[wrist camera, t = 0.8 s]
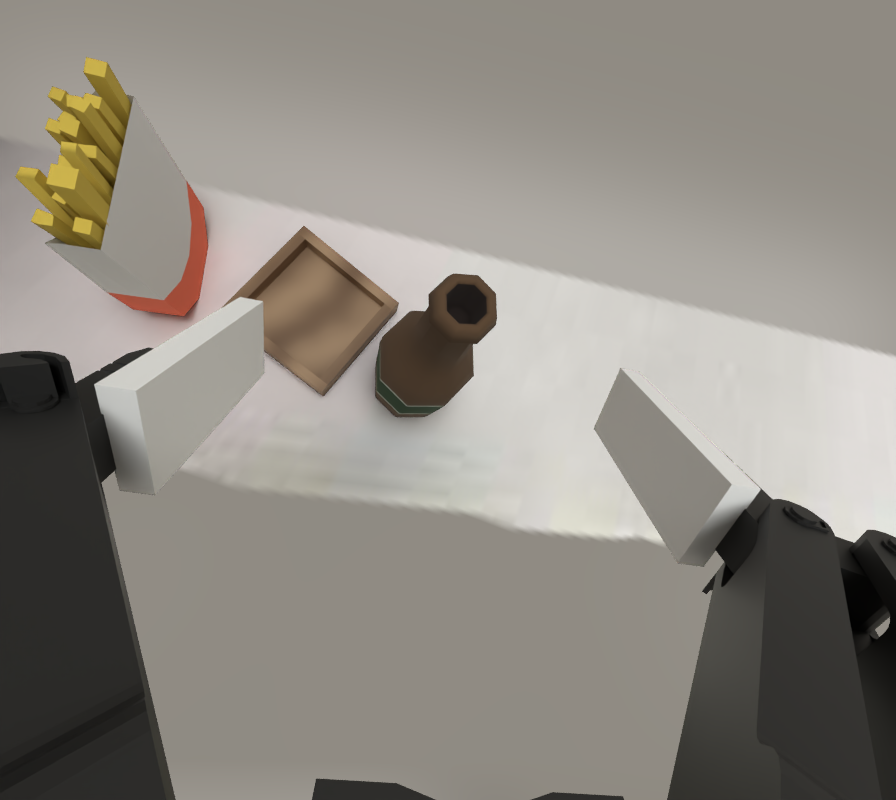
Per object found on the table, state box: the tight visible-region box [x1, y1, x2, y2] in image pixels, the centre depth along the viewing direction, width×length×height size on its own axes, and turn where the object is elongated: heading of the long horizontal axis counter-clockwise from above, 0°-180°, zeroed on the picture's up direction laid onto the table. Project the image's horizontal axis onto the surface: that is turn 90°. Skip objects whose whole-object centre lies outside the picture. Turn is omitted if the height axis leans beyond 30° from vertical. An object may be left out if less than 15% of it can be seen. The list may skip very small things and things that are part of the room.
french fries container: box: [15, 57, 208, 316], centre depth 31 cm, size 5×11×18 cm, turn 175°
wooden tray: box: [223, 226, 399, 396], centre depth 41 cm, size 12×12×2 cm
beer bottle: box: [375, 274, 497, 417], centre depth 32 cm, size 8×8×24 cm
